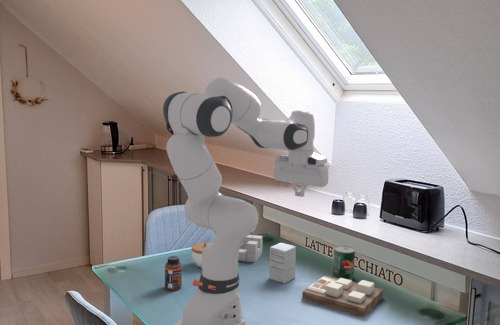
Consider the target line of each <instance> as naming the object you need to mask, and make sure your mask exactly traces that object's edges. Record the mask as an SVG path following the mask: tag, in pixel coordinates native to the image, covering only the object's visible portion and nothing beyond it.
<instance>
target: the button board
mask: <svg viewBox="0 0 500 325" xmlns="http://www.w3.org/2000/svg"><path fill="white" fill-rule="evenodd" d="M338 279H339V278H335V277H333V276H331V275H326V274H325V275H323V276H322V277H320V278H319V279H317V280H316V281H315V282H314V283H313V282H312V284H310V285H309V286H308V287H306V288H305V289H304V290H302V293H301V294H302V298H301V300H303V301H306V302H310V303H313V304H316V305H319V306H320V305H321V306H323V307H327V308H332V309H335V310H338V311H342V312H344V313H347V314H351V315H355V316H358V317H362V318H364V317H365V316H367V314H368V313H369V312H370V311H371V310H372V309H373V308H374V307H376V305H377V304H379V302H380V301H381V300H382V299H383V295H384V294H383V293H384V288H383V289H382V288H378V287H375V286H374V292H373V293H372V294H371V295H366V297H365V301H363V302H362V303H361V304H360V303H356V302H352V301H349V300H348V295H349V294H350V293H351V292H352V291H356V292H357V284H358V283H359V282H355V281H352V286H351V287H350V288H349V289H348V290H347V289H343V294H342V295H341V296H339V297H334V296H331V295H327V294H326V285H328V284H329V283H330V282H334V283H336V281H337V280H338Z"/></svg>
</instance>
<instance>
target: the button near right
mask: <svg viewBox="0 0 500 325" xmlns="http://www.w3.org/2000/svg"><path fill="white" fill-rule="evenodd" d="M365 297H366V294H364V293H360V292H356V291H352V292H351V293H350V294H349V295H348V300H349V301H352V302H356V303H360V304H361V303H362V302H363V301H365Z"/></svg>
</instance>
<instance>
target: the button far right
mask: <svg viewBox="0 0 500 325" xmlns="http://www.w3.org/2000/svg"><path fill="white" fill-rule="evenodd" d="M357 283H358V284H357V292H360V293H364V294H366V295H371V294H372V293H373V292H374V287H375V282H372V281H368V280H364V279H362V280H360V281H359V282H357Z"/></svg>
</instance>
